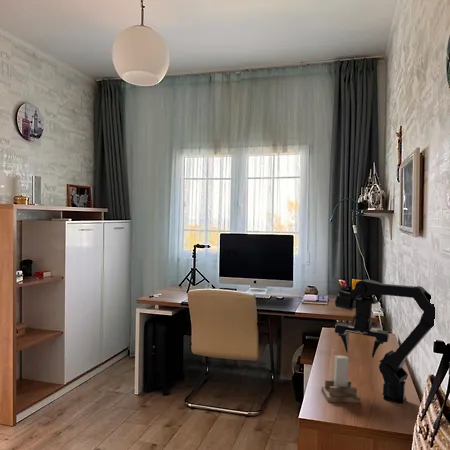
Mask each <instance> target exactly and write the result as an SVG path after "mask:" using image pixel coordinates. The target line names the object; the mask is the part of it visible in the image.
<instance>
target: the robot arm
mask: <svg viewBox="0 0 450 450" xmlns="http://www.w3.org/2000/svg"><path fill="white" fill-rule="evenodd" d="M431 295H432V294H430V293H429V292H428V291H427V290H426V289H425V288H424V287H423V286H420V285H417V286H416V285H414V286H413V285H403V284H400V285H399V284H389V283H381V282H380V281H376V280H373V279H369V278H368V279H362V280H359V281H357V282H356V283H355V286H354V288H353V289H352V290H351V291H350V292H347V291H345V290H338V294H337V296H336V299H335V301H334V305H335V307H336V308H337V309H342V310H346V311H349V312H352V311H353V310H355V311H354V312H355V313H354V315H353V317H352V324H353V327H351V326H350V327H349V323H344V322H339V323H337V324H336V325H335V327H334V333H336V334H337V336H339V337H340V338H341V340H342V343H343V345H344V349H345V352H346V353H347V354H348V353H349V347H350V346H349V334H350V333H352V334H357V335H361V336H362V335H363V336H366V337H373V338H375V340H374V342H373V346H372V347H373V348H372V354H371V358H372V359H373V358H374V357H375V355H376V352H377V350H378V348H379V346H380V345H383V344H385V343H388V341H389V339H390V332H389V331H386V330H381V329H377V331H373V330H372V327H373V320H372V310H373V305H375V304H378V303H379V301H378V299H377V298H376V297H375V296H391V297H401V298H411V299H413V300H414V301H415V303H416V304H417V306H418V307H419V309H421V311H422V312H423V313H422V314H421V317H420V320H419V322H418V324H416V326H415V327H414V329H412V331H411V332H410V333H409V334H408V335H407V337H406V338H405V339H404V340H403V341H402V343H401V344H400V345H399V347H398V348H397V349H396V350H395V351H394V350H390V351H388V352H386V353H384V355H383V356H384V357H383V358H382V359H381V360H379V365H378V369H379V372H380V374H381V375H382V378H383V382H384V383H383V385H382V386H383V387H382V390H383V391H382V396H383V399H384V400H386V401H391V402H395V403H399V404H404V403H405V399H406V397H407V396H406V380H407V379H408V377H409V373H408V372H407V371H406V370H405V369H404V365H405V362H406V361H407V358H408V357H409V355H410V354H411V353H412V351H414V349H415V348H416V347H417V346H418V345H419V344H420V342H422V340H423V339H424V338H425V337H426V335H427V334H428V333H430V331H431V330H432V329H433V328H434V327H435V326H434V319H435V307H434V304H431V303H430V299H431ZM369 296H370V297H369ZM433 326H434V327H433ZM432 327H433V328H432ZM431 328H432V329H431ZM371 330H372V331H371Z"/></svg>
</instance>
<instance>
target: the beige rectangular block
mask: <svg viewBox="0 0 450 450" xmlns="http://www.w3.org/2000/svg"><path fill="white" fill-rule="evenodd" d="M349 360H350V359H349V357H348V356H347V355H334V367H333V368H334V369H333V380H334V386H336V387H347V385H348V380H349V379H348V378H349V362H350V361H349Z"/></svg>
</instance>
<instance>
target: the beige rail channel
mask: <svg viewBox="0 0 450 450" xmlns="http://www.w3.org/2000/svg"><path fill="white" fill-rule="evenodd" d="M320 390H321V393H322V394H323V396H324V398H325V400H326V402H329V403H333V402H335V403H358V404H359V403H361V397H360V396H359V395H358V394H357V390H358V389H357V387H356V386H352V381H351V380H349V379H348V385H347V387H336V386H334V379H327V378H326V379H325V380H324V386H321V389H320Z"/></svg>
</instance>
